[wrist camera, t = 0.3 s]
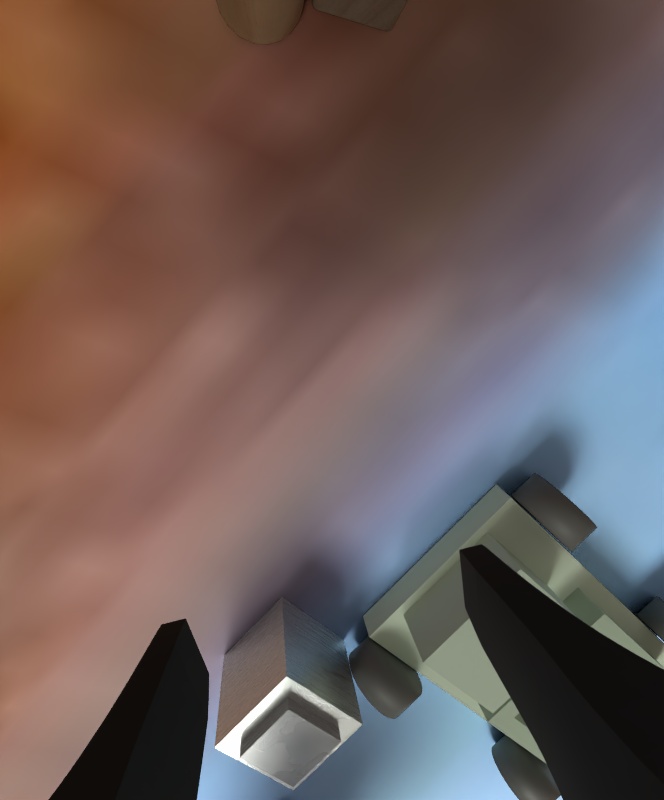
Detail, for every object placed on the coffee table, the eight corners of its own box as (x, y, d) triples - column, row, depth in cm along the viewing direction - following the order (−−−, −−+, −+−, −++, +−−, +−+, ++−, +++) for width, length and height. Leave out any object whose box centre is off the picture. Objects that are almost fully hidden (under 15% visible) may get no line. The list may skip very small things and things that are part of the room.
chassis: (519, 761, 29) (563, 845, 25) (341, 637, 25) (357, 712, 21) (677, 618, 28) (752, 680, 24) (519, 460, 24) (576, 501, 19)
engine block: (287, 694, 25) (294, 805, 20) (224, 654, 24) (213, 762, 19) (343, 638, 25) (365, 737, 20) (281, 595, 24) (287, 688, 18)
